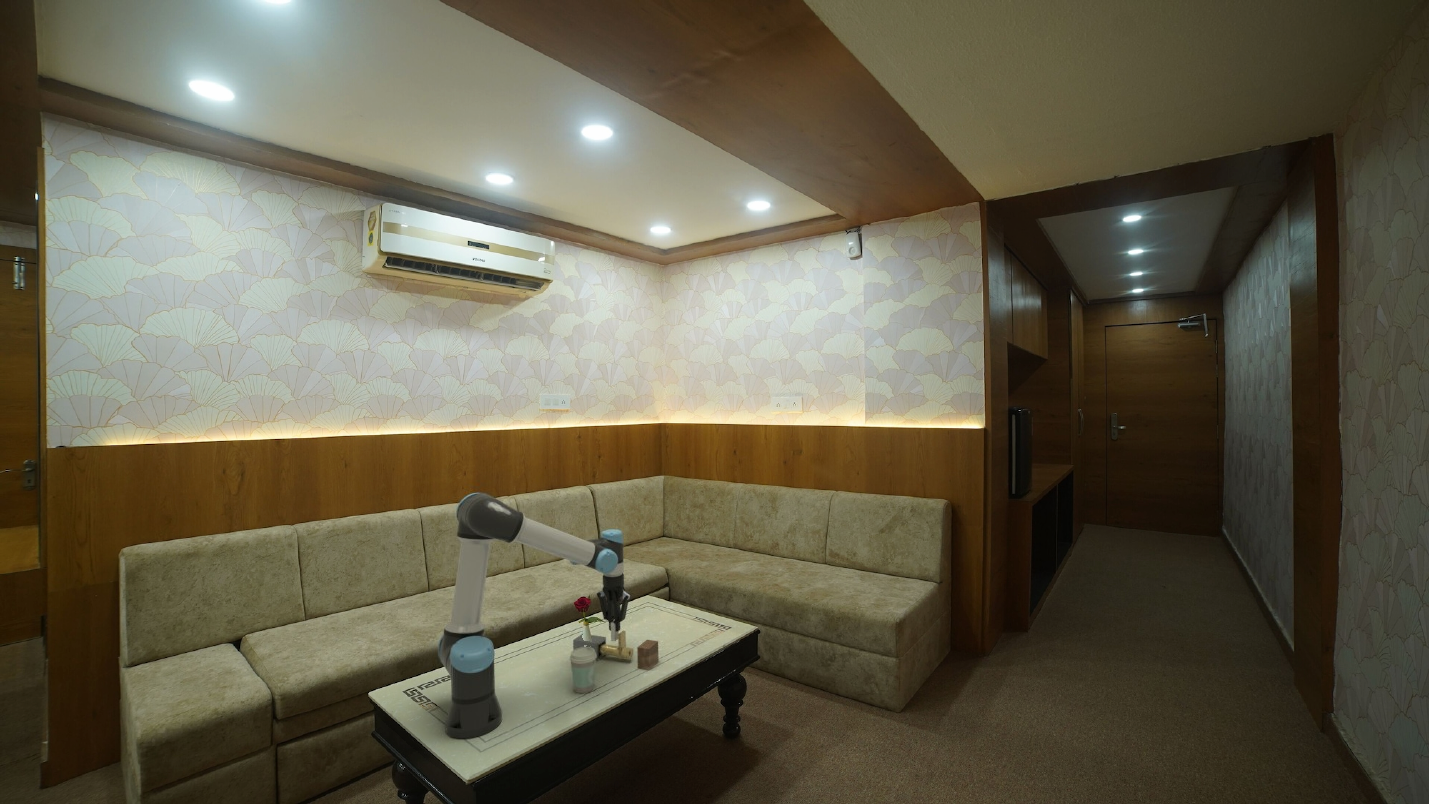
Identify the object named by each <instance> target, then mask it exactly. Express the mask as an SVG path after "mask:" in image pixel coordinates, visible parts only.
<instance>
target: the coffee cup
mask: <svg viewBox="0 0 1429 804" xmlns="http://www.w3.org/2000/svg"><path fill="white" fill-rule="evenodd" d="M596 657H597V655H596V652H595V650H594V649H593V648H591V647H581V648H577V649H575V650H572V651H571V653H570V655H569V662H570V666H571V673H572V681H573V687H574V691H575V693H578V694H586V693H590V692H591V691H593V689H594V682H595V672H596V671H595V670H596V662H597V661H596Z"/></svg>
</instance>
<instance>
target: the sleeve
mask: <svg viewBox="0 0 1429 804" xmlns="http://www.w3.org/2000/svg"><path fill="white" fill-rule="evenodd" d="M583 634H584V633H581V634H580V635H578V636H577V637H575V638H574V639H573V640H572V641H573V642H572V649H573V650H575V649H577V648H581V647H584V645H587V646H586V647H590V646H591V648H593V649H594V650H595V652H596V655H597V657H596V661H595V662H598V661H599V660H601V658H603V657H604V656H605V655H603V654H598V645H600V644H605V645H607V637H606V636H599V635H596V634H595V635H593V634H590V635H591V639H592V642H590V641H584V640H583V638H582V635H583ZM573 650H572V651H573Z"/></svg>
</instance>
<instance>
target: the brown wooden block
mask: <svg viewBox="0 0 1429 804" xmlns="http://www.w3.org/2000/svg"><path fill="white" fill-rule="evenodd" d="M636 650H637V651H636V653H637V669H640V670H647V671H650V670H651V669H653V667H654V666H656V664H658V662H659V640H652V639H646V640H644V641H643V642H642V643H640V644H639V645H638V646H637V648H636Z"/></svg>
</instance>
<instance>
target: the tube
mask: <svg viewBox="0 0 1429 804" xmlns="http://www.w3.org/2000/svg"><path fill="white" fill-rule="evenodd" d="M626 632H627V631H626V630H622V631H621V632H620V633H619V634H618V640H617V642H618V644H617V645H612V644H611V645H610V644H606V645H605V644H600V645H598V654H603V655H604V656H609V657H615V658H617V657H618V660H622V659H629V660H631V659H632V658H633V655H634V649H633V647H632V648H631V647H627V641H626V640H627V639H626V638H627V636H626V635H627V633H626Z"/></svg>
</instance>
